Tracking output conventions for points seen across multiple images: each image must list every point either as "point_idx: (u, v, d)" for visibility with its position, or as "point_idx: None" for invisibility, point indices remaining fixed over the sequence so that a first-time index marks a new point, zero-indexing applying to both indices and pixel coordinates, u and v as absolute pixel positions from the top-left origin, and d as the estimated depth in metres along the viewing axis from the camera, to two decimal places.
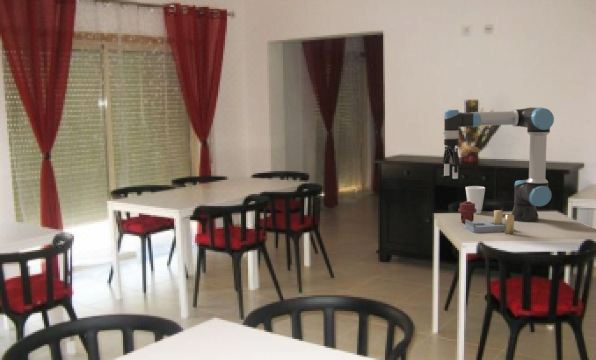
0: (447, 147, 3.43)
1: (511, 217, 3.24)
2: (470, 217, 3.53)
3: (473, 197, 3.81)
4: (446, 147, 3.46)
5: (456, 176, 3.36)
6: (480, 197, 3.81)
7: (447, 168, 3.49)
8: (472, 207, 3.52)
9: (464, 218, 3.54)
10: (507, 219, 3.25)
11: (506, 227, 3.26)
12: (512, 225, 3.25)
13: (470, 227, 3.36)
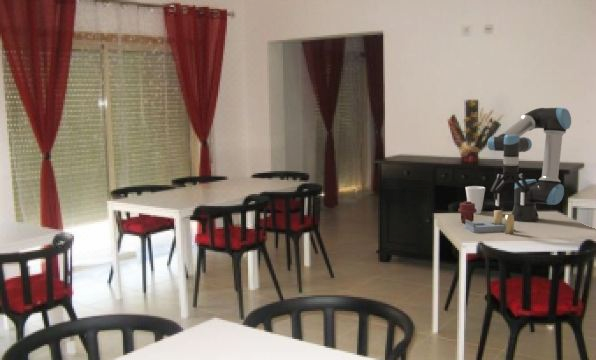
0: None
1: (511, 217, 3.24)
2: (470, 217, 3.53)
3: (473, 197, 3.81)
4: None
5: (496, 203, 3.24)
6: (480, 197, 3.81)
7: (522, 197, 3.25)
8: (472, 207, 3.52)
9: (464, 218, 3.54)
10: (507, 219, 3.25)
11: (506, 227, 3.26)
12: (512, 225, 3.25)
13: (470, 227, 3.36)
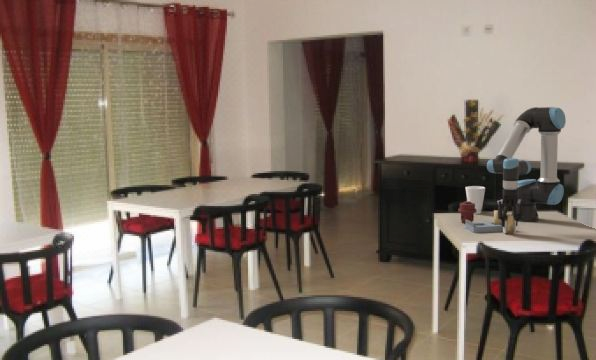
0: None
1: (511, 217, 3.24)
2: (470, 217, 3.53)
3: (473, 197, 3.81)
4: (519, 200, 3.26)
5: (504, 230, 3.26)
6: (480, 197, 3.81)
7: None
8: (472, 207, 3.52)
9: (464, 218, 3.54)
10: (507, 219, 3.25)
11: None
12: (512, 225, 3.25)
13: (470, 227, 3.36)
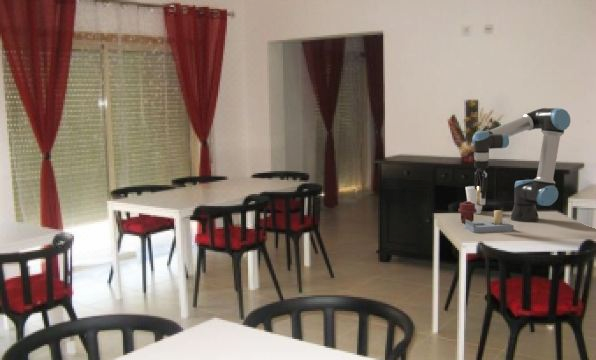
0: (477, 169, 3.37)
1: None
2: (470, 217, 3.53)
3: (473, 197, 3.81)
4: (476, 171, 3.39)
5: (483, 202, 3.33)
6: None
7: None
8: (472, 207, 3.52)
9: (464, 218, 3.54)
10: None
11: None
12: None
13: (470, 227, 3.36)
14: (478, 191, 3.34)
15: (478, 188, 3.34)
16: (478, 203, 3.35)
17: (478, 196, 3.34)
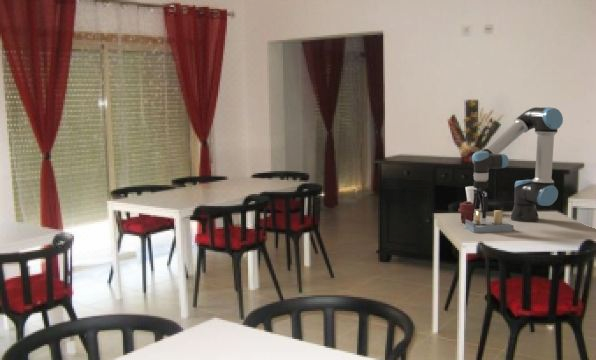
0: (476, 189, 3.38)
1: None
2: (470, 217, 3.53)
3: (473, 197, 3.81)
4: (475, 190, 3.41)
5: (484, 221, 3.33)
6: None
7: None
8: (472, 207, 3.52)
9: (464, 218, 3.54)
10: None
11: None
12: None
13: (470, 227, 3.36)
14: (477, 216, 3.36)
15: (477, 213, 3.36)
16: None
17: (477, 221, 3.36)
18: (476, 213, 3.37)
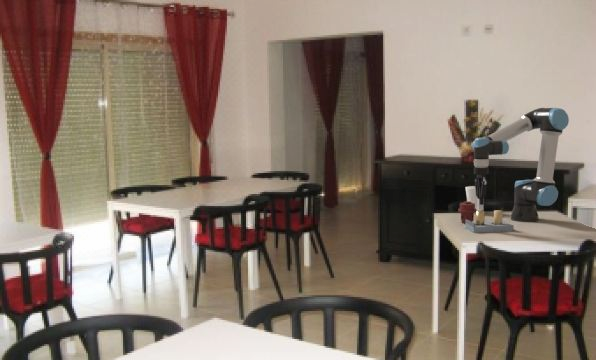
0: None
1: None
2: (470, 217, 3.53)
3: (473, 197, 3.81)
4: (475, 178, 3.40)
5: (482, 208, 3.36)
6: None
7: None
8: (472, 207, 3.52)
9: (464, 218, 3.54)
10: (483, 216, 3.36)
11: (483, 223, 3.36)
12: None
13: (470, 227, 3.36)
14: (477, 216, 3.36)
15: (477, 213, 3.36)
16: None
17: (477, 221, 3.36)
18: (476, 213, 3.37)
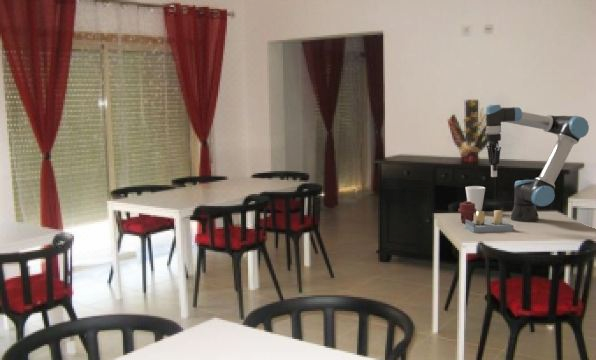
0: (489, 142, 3.43)
1: None
2: (470, 217, 3.53)
3: (473, 197, 3.81)
4: (488, 146, 3.45)
5: (495, 174, 3.42)
6: (480, 197, 3.81)
7: None
8: (472, 207, 3.52)
9: (464, 218, 3.54)
10: (483, 216, 3.36)
11: (483, 223, 3.36)
12: None
13: (470, 227, 3.36)
14: (477, 216, 3.36)
15: (477, 213, 3.36)
16: None
17: (477, 221, 3.36)
18: (476, 213, 3.37)
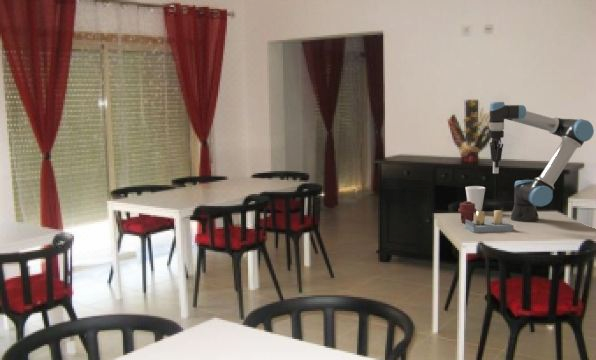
0: (492, 139, 3.45)
1: None
2: (470, 217, 3.53)
3: (473, 197, 3.81)
4: (491, 142, 3.47)
5: (497, 171, 3.44)
6: (480, 197, 3.81)
7: None
8: (472, 207, 3.52)
9: (464, 218, 3.54)
10: (483, 216, 3.36)
11: (483, 223, 3.36)
12: None
13: (470, 227, 3.36)
14: (477, 216, 3.36)
15: (477, 213, 3.36)
16: None
17: (477, 221, 3.36)
18: (476, 213, 3.37)
